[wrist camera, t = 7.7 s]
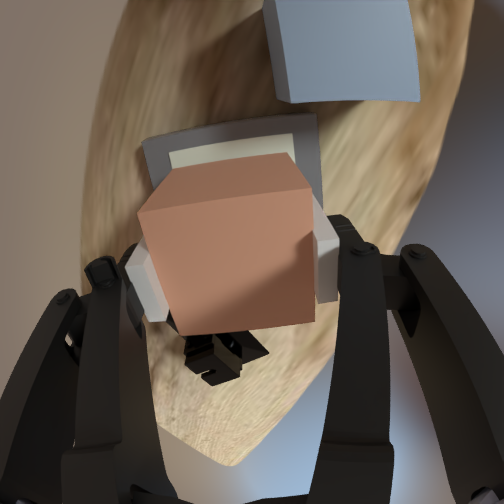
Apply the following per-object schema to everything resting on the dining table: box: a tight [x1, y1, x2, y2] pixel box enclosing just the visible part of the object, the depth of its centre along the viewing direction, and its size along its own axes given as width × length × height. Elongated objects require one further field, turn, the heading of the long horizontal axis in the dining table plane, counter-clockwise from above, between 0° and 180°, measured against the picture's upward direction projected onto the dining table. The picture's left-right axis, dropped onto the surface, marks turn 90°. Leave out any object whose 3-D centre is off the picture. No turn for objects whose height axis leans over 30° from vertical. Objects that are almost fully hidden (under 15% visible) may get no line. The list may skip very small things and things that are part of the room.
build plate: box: [166, 309, 269, 386], centre depth 24 cm, size 12×7×5 cm, turn 32°
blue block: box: [262, 0, 420, 103], centre depth 11 cm, size 6×6×6 cm
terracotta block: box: [137, 152, 315, 336], centre depth 14 cm, size 6×6×6 cm
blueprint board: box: [142, 112, 323, 210], centre depth 18 cm, size 10×9×2 cm
